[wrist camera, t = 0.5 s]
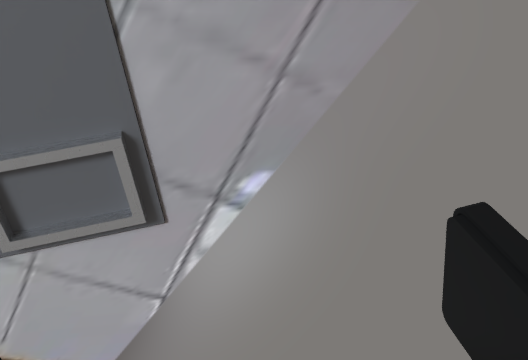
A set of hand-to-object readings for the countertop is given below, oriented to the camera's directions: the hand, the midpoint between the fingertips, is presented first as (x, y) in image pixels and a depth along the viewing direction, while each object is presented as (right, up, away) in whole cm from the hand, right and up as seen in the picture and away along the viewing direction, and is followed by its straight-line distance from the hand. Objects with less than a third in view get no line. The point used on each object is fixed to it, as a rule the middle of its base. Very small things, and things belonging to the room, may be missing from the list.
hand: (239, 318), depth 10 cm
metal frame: (-18, +2, +35) cm, 39 cm away
